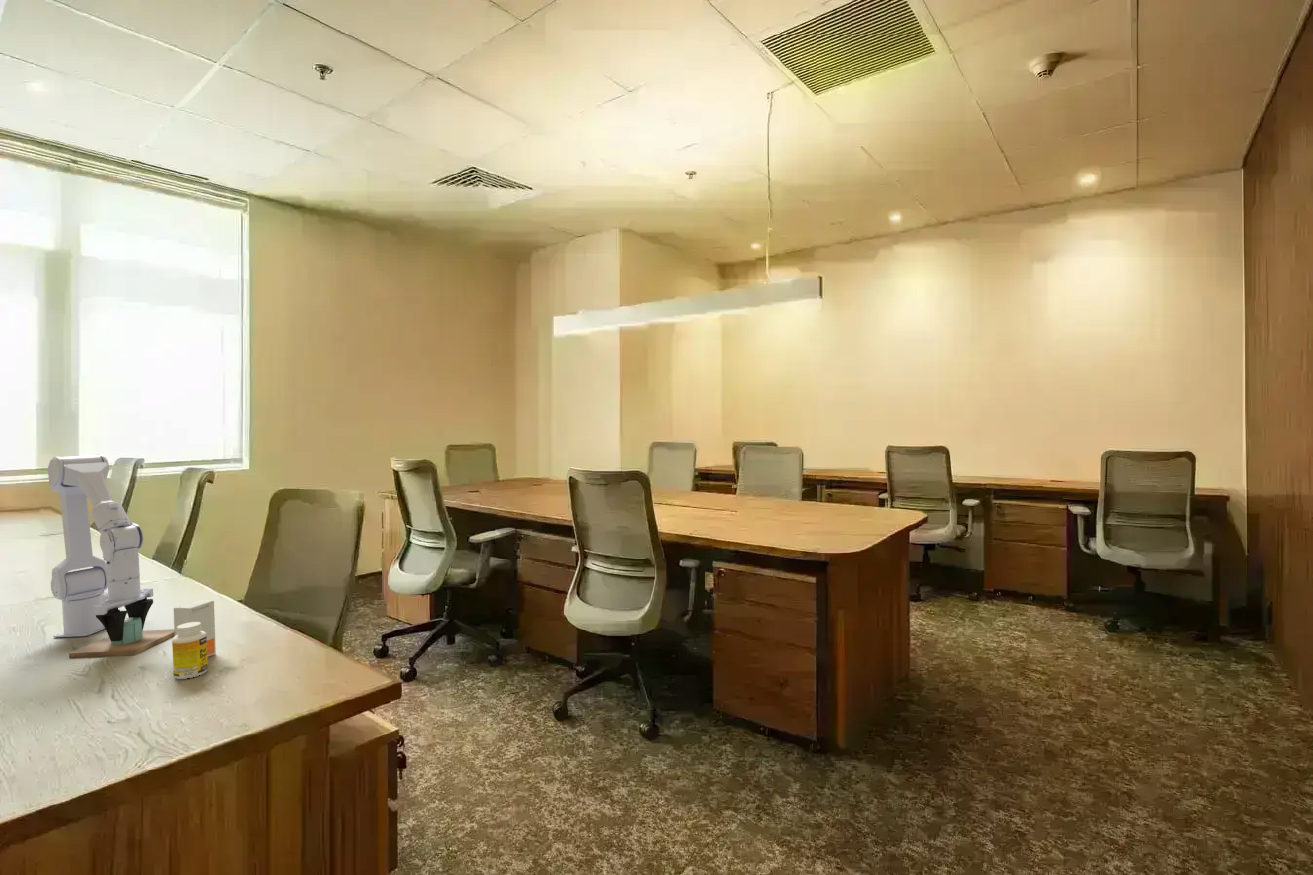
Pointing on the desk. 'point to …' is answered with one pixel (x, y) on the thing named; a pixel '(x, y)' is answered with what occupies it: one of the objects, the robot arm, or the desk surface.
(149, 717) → the desk surface
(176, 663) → the supplement bottle
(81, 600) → the robot arm
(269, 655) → the desk surface
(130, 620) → the cap
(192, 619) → the skincare box
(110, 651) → the post fixture
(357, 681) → the desk surface
